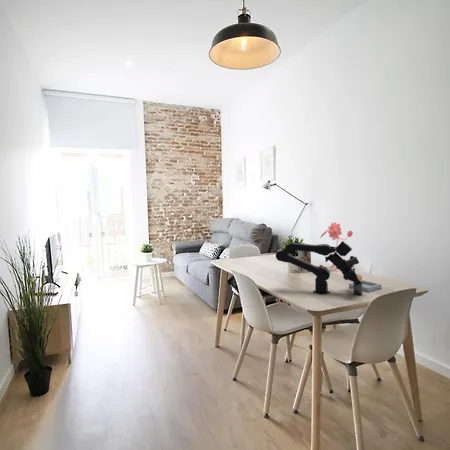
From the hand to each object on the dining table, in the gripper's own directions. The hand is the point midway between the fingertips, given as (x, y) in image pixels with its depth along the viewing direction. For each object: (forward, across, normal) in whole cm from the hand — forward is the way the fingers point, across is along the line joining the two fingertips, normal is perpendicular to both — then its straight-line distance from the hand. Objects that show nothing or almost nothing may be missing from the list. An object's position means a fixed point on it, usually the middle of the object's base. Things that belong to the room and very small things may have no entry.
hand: (360, 282), depth 180 cm
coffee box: (-21, +52, +31) cm, 64 cm away
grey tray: (+7, +13, +3) cm, 15 cm away
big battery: (+4, 0, +6) cm, 7 cm away
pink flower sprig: (-6, +63, +16) cm, 65 cm away
